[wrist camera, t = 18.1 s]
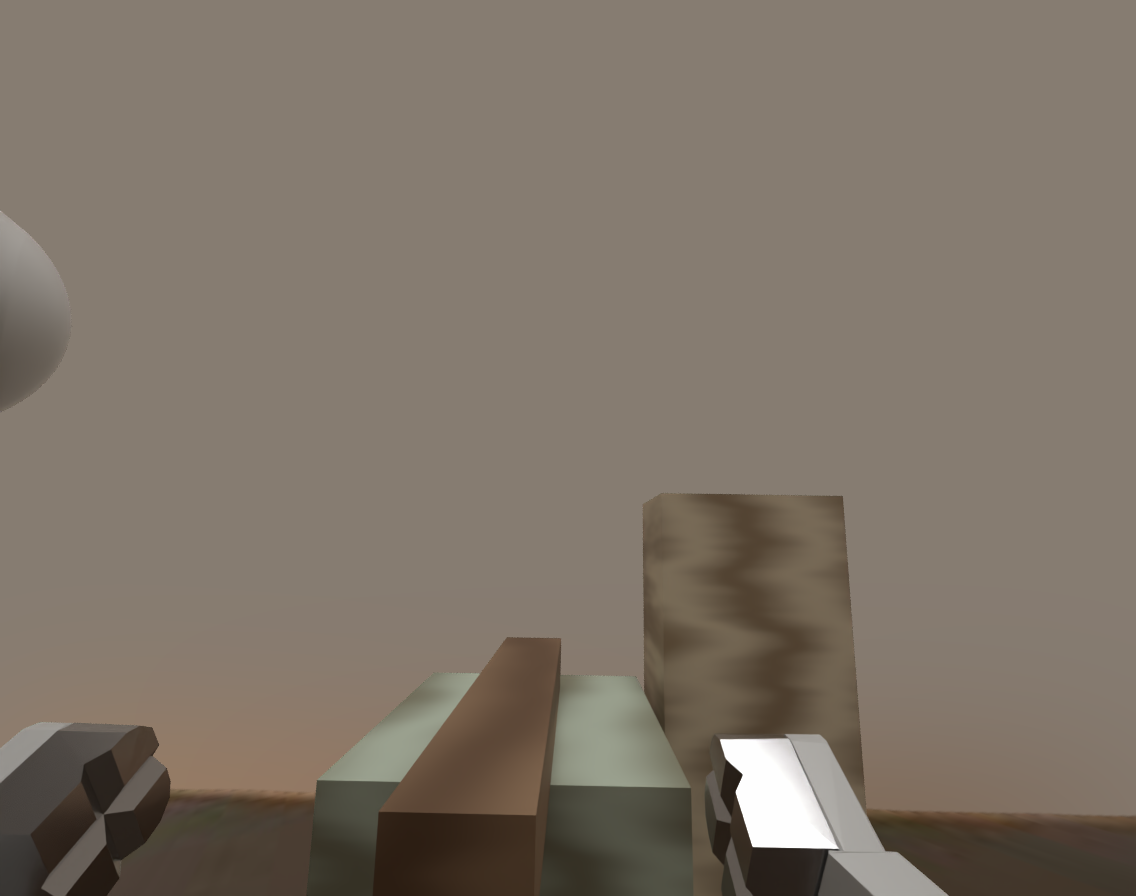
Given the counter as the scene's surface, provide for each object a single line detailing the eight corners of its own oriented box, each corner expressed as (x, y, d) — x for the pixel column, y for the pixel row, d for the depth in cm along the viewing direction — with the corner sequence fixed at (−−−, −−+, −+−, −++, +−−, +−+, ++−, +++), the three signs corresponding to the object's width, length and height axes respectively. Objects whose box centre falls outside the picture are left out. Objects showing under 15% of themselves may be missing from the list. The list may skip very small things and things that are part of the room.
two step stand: (260, 1407, 15) (346, 457, 19) (435, 924, 33) (457, 501, 38) (1120, 1436, 14) (996, 467, 19) (809, 932, 33) (786, 506, 38)
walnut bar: (368, 963, 10) (378, 811, 10) (505, 685, 30) (506, 637, 30) (532, 968, 10) (535, 815, 10) (560, 686, 29) (560, 638, 30)
